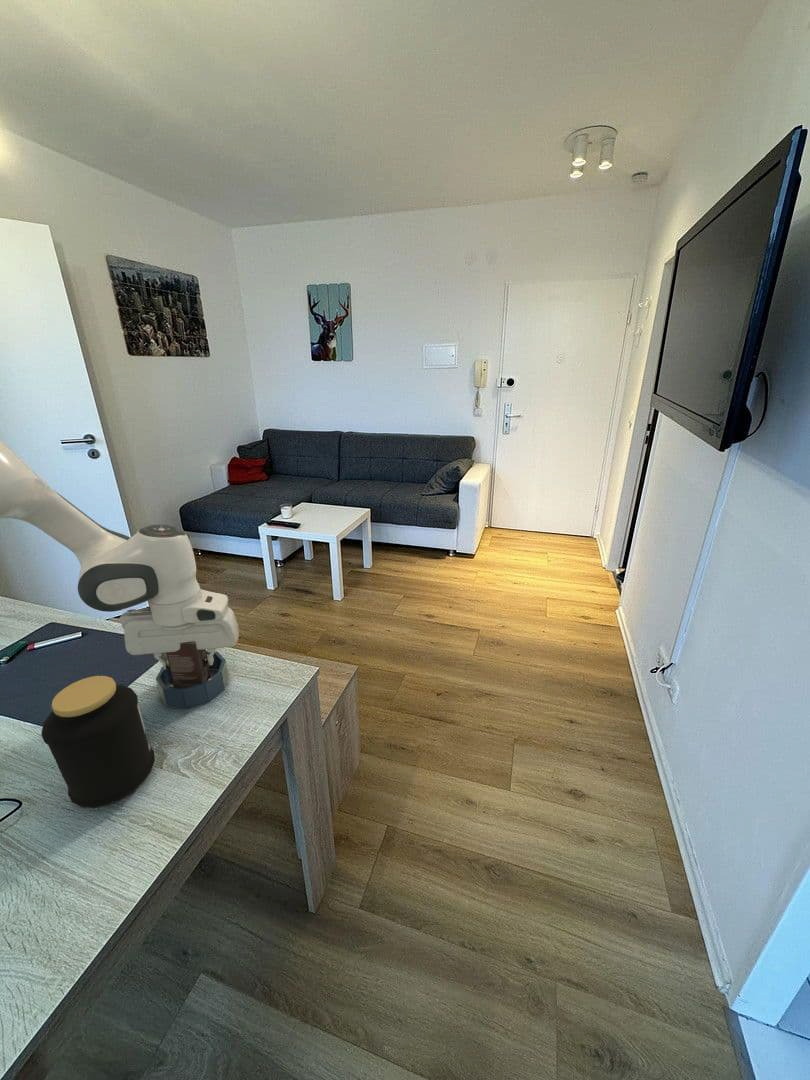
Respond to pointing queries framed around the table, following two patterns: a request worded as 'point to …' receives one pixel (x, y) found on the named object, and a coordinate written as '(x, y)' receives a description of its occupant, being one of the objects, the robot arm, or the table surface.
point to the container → (98, 741)
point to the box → (188, 666)
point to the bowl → (193, 687)
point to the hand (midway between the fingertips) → (189, 665)
